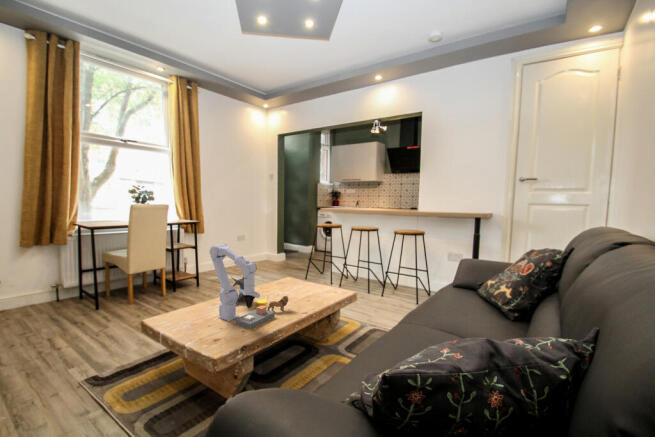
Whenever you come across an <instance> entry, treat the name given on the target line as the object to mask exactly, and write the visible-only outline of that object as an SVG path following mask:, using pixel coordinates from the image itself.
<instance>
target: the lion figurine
mask: <svg viewBox="0 0 655 437" xmlns="http://www.w3.org/2000/svg"><path fill="white" fill-rule="evenodd" d="M288 303H289V296H287V295H283V296H282V298H281V299H279V300H278V301H276V300H275V301H274V300H273V301H270V302H269V304H268V307H267V310H268V311H272V312H275V313H276V311H274V309H275V307H276V308H279V309H280V311H282V312H285V310H284V309H285V306H287V304H288ZM270 309H271V310H270Z"/></svg>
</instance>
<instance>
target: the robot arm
mask: <svg viewBox="0 0 655 437" xmlns="http://www.w3.org/2000/svg"><path fill="white" fill-rule="evenodd" d="M209 255H210V258H211V261H212V265H213V266H214V267H213V268H214V271H215V273H216V276H217V279H218V282H219V284H220V287H221V290H220V291H219V292H218V295H219V301H220V304H219V307H218V312H219V314H218V316H217V318H219V319H222V320H225V321H227V322H231V321H232V320H235V319H237V318H239V317H240V315H238V314H236V312H237V308H236V307H237V306H236V302H237V299H238V298H239V293H240V294H241V293H242V294H243V295H245V296H243V298H244V300H245V302H244V303H245V305H246V308H247V309H251V308H252V307H253V302H254V300H255V298H256V299H259V298H260V297H261V293H259V292H257V291H255V280H256V279H255V277H256V276H255V273H256V272H257V269H258V268H257V264H256V263H255V262H254V261H250V260H248V259H246V258H245V257H244V256H243V255H238V254H237V253H235V252H234V251H233V250H232V249H231V247H230V245H228V244H227V243H223V244H218V245H217V244H216V245H211V247H210V248H209ZM226 257H228V259H230V260H232V261H233V263H234V264H235V266H237V267H238V268H240V269H241V271H242V272H241V273H242V275H243V276H242V277H244V290H243V289H241V290H240V289H238V291H237V288H236V286H234V287H233V285H232V284H231V282H230V279H229V275H228V273H227V270H226V268H225V267H226V266H225V265H224V264H225V263H224V259H225V258H226Z"/></svg>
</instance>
